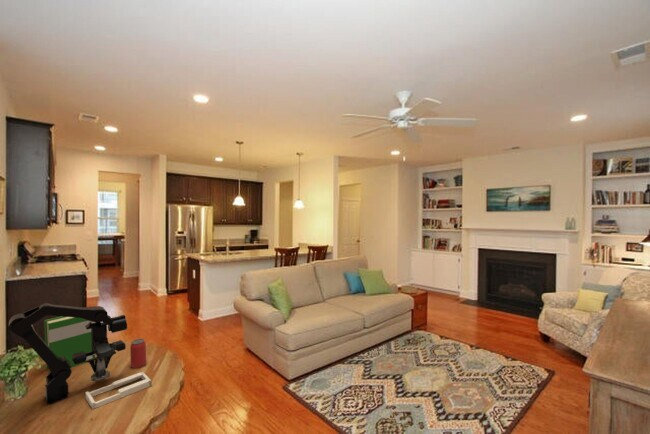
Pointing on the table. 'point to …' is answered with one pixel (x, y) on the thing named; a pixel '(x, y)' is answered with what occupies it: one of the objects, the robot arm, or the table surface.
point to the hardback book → (68, 337)
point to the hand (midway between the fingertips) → (100, 370)
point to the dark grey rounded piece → (100, 370)
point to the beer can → (138, 353)
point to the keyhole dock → (122, 392)
